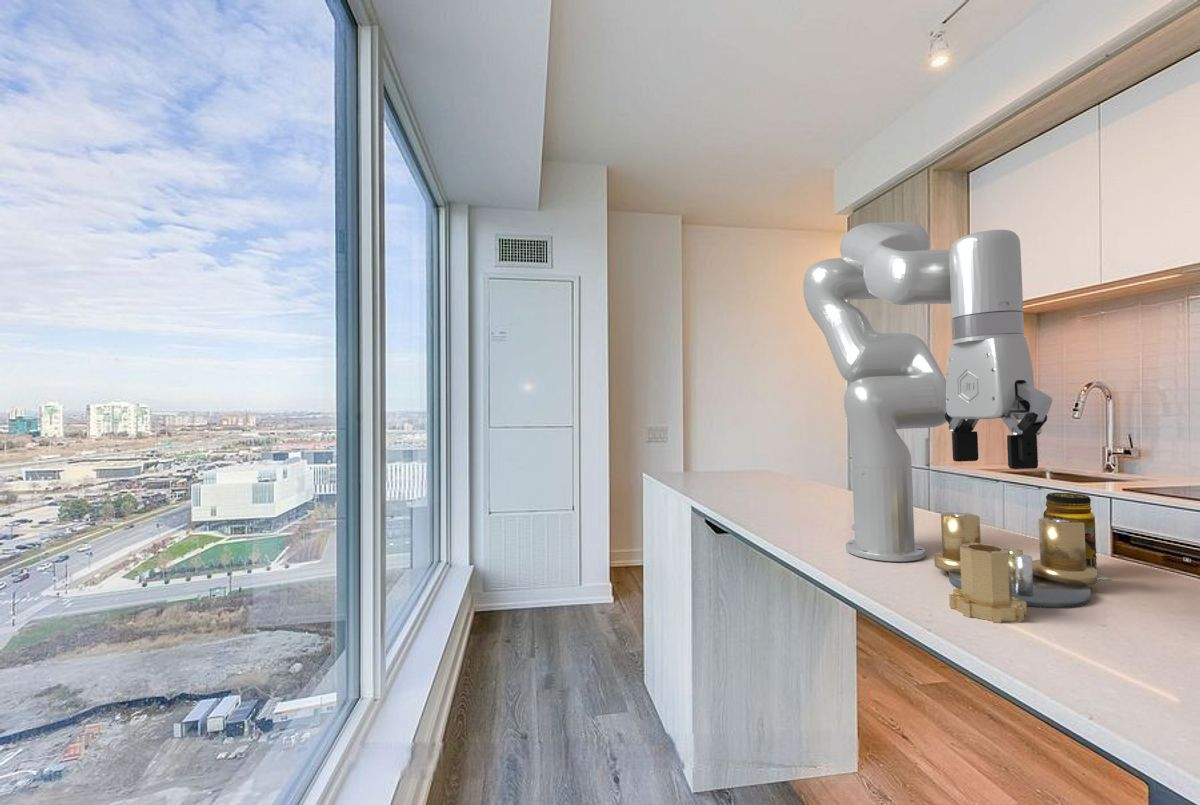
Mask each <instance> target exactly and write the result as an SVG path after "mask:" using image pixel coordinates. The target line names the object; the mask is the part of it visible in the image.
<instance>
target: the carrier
mask: <svg viewBox="0 0 1200 805" xmlns="http://www.w3.org/2000/svg"><path fill="white" fill-rule="evenodd" d="M940 527H941V551H939V552H935V553H934V554H933V555H934V556H933V557H934V567H935V568H937V569H939V570H941V571H945V572H948V582H949V583H950V584H951V585H952V586H953V587H955V589H960V590H961V564H960V546H961V545H962V544H965V543H982V542H981V540H982V539H981V538H982V537H981V517H980V516H979V515H976V514H974V513H973V514H972V513H968V512H967V513H966V512H942V513H941V514H940ZM1038 534H1039V536H1038V537H1039V540H1038V541H1039V558H1040V559H1034V560H1033V557H1032V556H1030V555H1026V554H1024V550H1023V549H1022V548H1021V549H1020V548H1015V547H1006V548H1007V549H1010V559H1011V584H1012V597H1014V598H1016V599H1019V600H1024V601H1025V602H1026V607H1032V608H1045V609H1046V608H1047V609H1067V608H1069V607H1070V608H1076V607H1077V606H1078V607H1081V605H1083V606H1085V605H1088V604H1089V603H1090V602H1091V600H1092V599H1091V588H1090V586H1093V585H1096V584H1098V580H1097V573H1098V569H1097V570H1096V569H1095V568H1093V567H1091V566H1088V565H1086V552H1085V529H1084V523H1083V522H1081V521H1077V520H1071V519H1062V518H1044V517H1042V518H1038ZM1088 602H1089V603H1088ZM1087 603H1088V604H1087ZM1078 607H1077V608H1078ZM1070 608H1069V609H1070Z"/></svg>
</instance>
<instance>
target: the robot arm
mask: <svg viewBox="0 0 1200 805" xmlns="http://www.w3.org/2000/svg"><path fill="white" fill-rule="evenodd" d="M929 248H930V237H929V233H928V232H927V230H926V229H925V227H923V226H922V225H921V224H919V223H917V222H914V221H892V222H891V221H890V222H889V221H888V222H885V221H884V222H869V223H868V222H867V223H866V222H865V223H862V224H859V225H857V226H854V227H853V228H851V229H849V231H847V232H846V233H845V235H843V237H842V239H841V241H840V245H839V252H840V256H841V257H833V258H827V259H822V260H820V261H818V262H815V263H813V264H812V265H810V267H808V269H806V272H805V273H804V277H803V285H802V288H803V290H802V292H803V297H804V298H803V299H804V301H805V302H804V303H805V305H806V308H807V311H808V313H809V314H810V316H811V318H812V319H813V321H814V322H815V323H816V324H817V326H818V328H819V329H820V330H821V332H822V333H823V335H824V337H825V340H826V343H827V345H828V348H829V350H830V353H831V355H832V358H833V360H834V362H835V365H836V367H837V370H838V371H839V374H840V375H841V376H842V378H843V379H844V380H845V381H847V382H849V383H850V384H849V385H848V386H847V387H846V388H845V389H846V390H845V392H844V395H843V406H844V412H845V413H844V414H845V415H846V416H845V417H846V421H847V426H848V431H849V437H850V448H851V449H850V450H851V469H852V470H851V472H852V494H853V495H852V497H853V498H852V499H853V502H852V503H853V524H852V525H851V530H853V532H854V539H851V540H849V541H847V542H846V543H845V550H846V551H847V552H848V553H850V554H851V555H853V556H857V557H860V558H862V559H863V558H864V559H868V560H874V561H883V562H896V563H897V562H913V561H919V560H922V559H924V558H925V557H926V549H925V548H924V547H923V546H921V545H919V544H916V543H915V521H914V520H915V518H914V496H913V495H914V492H913V491H914V490H913V487H914V486H913V466H912V454H911V452H910V449H909V447H908V445H907V443H906V442H905V440H903V439H902V437H901V436H900V435H899V433H898V432H897V430H902V429H904V430H906V429H907V430H908V429H928V428H929V429H930V428H931V429H932V428H937V427H940V426H943V425H944V424H946V423H948V430H949V432H951V443H952V460H953V461H954V462H958V463H959V462H961V463H962V462H977V461H979V441H978V440H979V438H978V437H979V435H978V431H974V429H975V428H976V425H977V424H978V422H979V420H996V419H1001V420H1002V421H1003V423H1004V424H1005V425H1006V427H1007V428H1008V430H1009V431H1010V433H1011V434H1008V435H1006V443H1007V445H1006V447H1007V448H1006V451H1007V466H1008V468H1009V469H1012V470H1028V469H1030V470H1032V469H1037V468H1038V467H1039V458H1038V436H1039V435H1040V434H1041V433H1042V432H1043V431H1042V427H1043V425H1045V423H1046V422H1047V421H1048V413H1049V411H1050V409H1051V406H1052V404H1053V398H1052V397H1051V396H1050V395H1048V394H1046V393H1044V392H1042V390H1041V391H1040V390H1039V389H1037V388H1036V387H1035V379H1034V378H1035V377H1034V371H1033V365H1032V364H1033V363H1032V359H1031V353H1030V349H1029V344H1028V342H1027V338H1026V337H1025V324H1024V322H1025V321H1024V300H1023V299H1024V297H1023V276H1022V275H1023V273H1022V253H1021V252H1022V250H1021V240H1020V237H1019V235H1018V234H1016V233H1015V232H1014V231H1012V230H1009V229H1008V230H1007V229H990V230H983V231H982V230H981V231H977V232H973V233H969V234H968V235H964V236H962V237H959V238H958V239H956V240H955V241H954V242H953V243H952V244H951V246H950V248H949V249H931V250H930V249H929ZM877 299H878V300H882V301H883V302H887V303H890V304H893V305H896V306H897V305H899V306H910V305H911V306H912V305H913V306H914V305H939V304H940V305H948V304H950V311H951V338H952V345H950V348H949V351H948V356H947V357H948V358H947V363H946V377H945V376H944V373H943V372H942V370H941V368H940V366H939V364H938V363H937V361H936V358H934V356H933V354H932V352H931V350H930V348H929V347H928V345H927V343H926V342H925V341H924V340H923V339H922V338H920V337H918V335H916V334H915V335H914V334H912V333H907V332H904V333H903V332H894V333H893V332H892V333H891V332H890V333H886V332H885V333H882V332H877V331H875V330H874V329H873V326H872V325H871V323H870V321H869V319H868V317H867V315H865V314H864V312H862V311H861V310H860V309H859V308H857V306H854V305H853V304H851V303H850V302H848V301H850V300H851V301H852V300H853V301H854V300H877ZM1019 420H1020V421H1019Z"/></svg>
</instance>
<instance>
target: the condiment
mask: <svg viewBox="0 0 1200 805" xmlns="http://www.w3.org/2000/svg"><path fill="white" fill-rule="evenodd" d="M1045 498H1046V499H1045V500H1046V502H1045V506H1046V509H1045V510H1044V511H1043V514H1042V515H1043V518H1062V519H1071V520H1077V521H1081V522H1083V523H1084V529H1085V552H1086V565H1088V566H1091V567H1093V568H1095V569H1096V570H1097V571H1098V567H1097V565H1098V564H1097V562H1098V561H1097V546H1096V521H1095V520H1096V518H1095V515H1094V513H1093V512H1092V511H1091V510H1092V507H1091V506H1092V505H1091V504H1092V502H1091V501H1092V499H1091V497H1090V496H1088V495H1086V494H1082V493H1081V494H1080V493H1071V492H1049V493H1047V494H1046V496H1045ZM1098 580H1104V581H1106V580H1112V578H1111V577H1108V576H1106V575H1102V574H1100V573H1098V572H1097V581H1098Z"/></svg>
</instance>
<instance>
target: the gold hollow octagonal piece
mask: <svg viewBox="0 0 1200 805" xmlns="http://www.w3.org/2000/svg"><path fill="white" fill-rule="evenodd" d="M1007 548H1008V547H1004V546H1002V545H1001V546H1000V545H999V544H992V543H991V544H990V543H982V542H981V543H965V544H962V545H961V546H960V564H961V590H960V589H958V588H955V589H953V591H952V594H951V593H950V594H948V602H949V606H948V607H950V609H951V610H952V609H953V610H956V611H958V612H960V613H961V614H963V616H964V617H966V618H976V619H981V620H986V621H991V622H992V623H996V624H997V623H998V624H1001V623H1003V622H1018V623H1023V622H1025V616H1027V615H1028V614H1027V613H1028V612H1027V610H1028V609H1027V606H1026V602H1025V601H1024V600H1019V599H1016V598H1014V597H1012V584H1011V559H1010V549H1007Z"/></svg>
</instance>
